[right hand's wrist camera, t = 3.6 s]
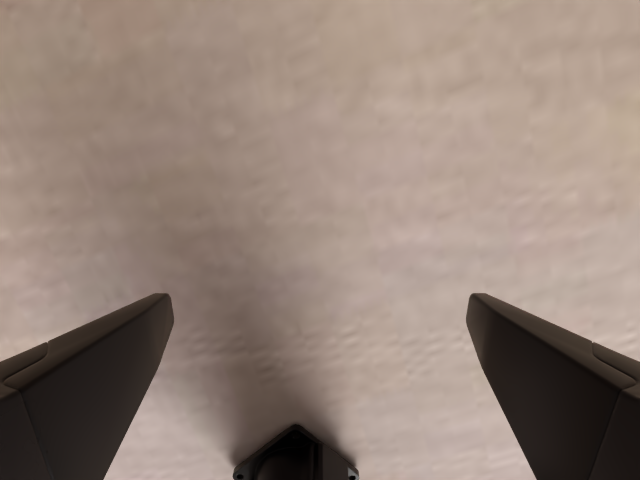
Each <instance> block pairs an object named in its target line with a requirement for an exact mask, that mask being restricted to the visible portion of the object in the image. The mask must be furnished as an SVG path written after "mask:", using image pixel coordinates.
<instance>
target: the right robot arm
mask: <svg viewBox="0 0 640 480" xmlns="http://www.w3.org/2000/svg"><path fill="white" fill-rule="evenodd" d="M173 323H174V316H173V309H172V303H171V298H170V295H169V294H167V293H155V294H152V295H150V296H148V297H145V298H143V299H141V300H139V301H136V302H134V303H132V304H130V305H128V306H125V307H123V308H121V309H119V310H116V311H114V312H112V313H110V314H108V315H105V316H103V317H101V318H99V319H96V320H94V321H92V322H90V323H88V324H85V325H83V326H81V327H79V328H76V329H74V330H72V331H70V332H67V333H65V334H63V335H61V336H59V337H56V338H54V339H52V340H50V341H48V343H47V342H45V343H43V344H41V345H38V346H36V347H34V348H32V349H29V350H27V351H25V352H23V353H20V354H18V355H16V356H13V357H11V358H8V359H6V360H4V361H1V362H0V480H103V479H104V477H105V475H106V473H107V471H108V469H109V467H110V465H111V463H112V461H113V459H114V457H115V455H116V453H117V451H118V449H119V447H120V445H121V442H122V440H123V438H124V436H125V434H126V432H127V430H128V428H129V426H130V424H131V422H132V420H133V418H134V416H135V414H136V412H137V410H138V408H139V406H140V404H141V402H142V400H143V398H144V396H145V394H146V392H147V390H148V388H149V386H150V383H151V381H152V379H153V377H154V375H155V373H156V371H157V369H158V367H159V364H160V361H161V359H162V356H163V353H164V350H165V347H166V344H167V341H168V339H169V336H170V333H171V330H172V327H173ZM466 323H467V327H468V330H469V333H470V336H471V339H472V341H473V344H474V347H475V350H476V353H477V356H478V359H479V361H480V364H481V367H482V369H483V371H484V373H485V375H486V377H487V379H488V381H489V383H490V386H491V388H492V390H493V392H494V394H495V396H496V398H497V400H498V402H499V404H500V406H501V408H502V410H503V412H504V414H505V416H506V418H507V420H508V422H509V424H510V426H511V428H512V430H513V432H514V434H515V436H516V438H517V440H518V443H519V445H520V447H521V449H522V451H523V453H524V455H525V457H526V459H527V461H528V463H529V465H530V467H531V469H532V471H533V473H534V475H535V477H536V479H537V480H640V362H639V361H636V360H634V359H632V358H629V357H627V356H624V355H622V354H620V353H617V352H615V351H613V350H611V349H608V348H606V347H604V346H602V345H599V344H597V343H595V342H593V343H592V341H590V340H588V339H586V338H584V337H581V336H579V335H577V334H575V333H573V332H570V331H568V330H566V329H564V328H561V327H559V326H557V325H555V324H552V323H550V322H548V321H546V320H544V319H541V318H539V317H537V316H535V315H532V314H530V313H528V312H526V311H524V310H521V309H519V308H517V307H515V306H512V305H510V304H508V303H506V302H504V301H501V300H499V299H497V298H495V297H492V296H490V295H488V294H485V293H473V294H471V295H470V298H469V303H468V309H467V316H466ZM233 479H234V480H359V472H358V470H357V469H356V468H355V467H353V466H352V465H351V464H350V463H348V462H347V461H346V460H344V459H343V458H342V457H340V456H339V455H338V454H337V453H335V452H334V451H333V450H331V449H330V448H329V447H327V446H326V445H325V444H324V443H322V442H321V441H320V440H318V439H317V438H316V437H314V436H313V435H312V434H311V433H309V432H308V431H307V430H305V429H304V428H303V427H301V426H300V425H292V426H290V427H289V428H288V429H286V430H285V431H284V432H282V433H281V434H280V435H278V436H277V437H276V438H274V439H273V440H272V441H270V442H269V443H268V444H266V445H265V446H264V447H262V448H261V449H260V450H259V451H257V452H256V453H255V454H253V455H252V456H251V457H249V458H248V459H247V460H245V461H244V462H243V463H241V464H240V465H239V466H237V467H236V468H235V469H234V473H233Z"/></svg>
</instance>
